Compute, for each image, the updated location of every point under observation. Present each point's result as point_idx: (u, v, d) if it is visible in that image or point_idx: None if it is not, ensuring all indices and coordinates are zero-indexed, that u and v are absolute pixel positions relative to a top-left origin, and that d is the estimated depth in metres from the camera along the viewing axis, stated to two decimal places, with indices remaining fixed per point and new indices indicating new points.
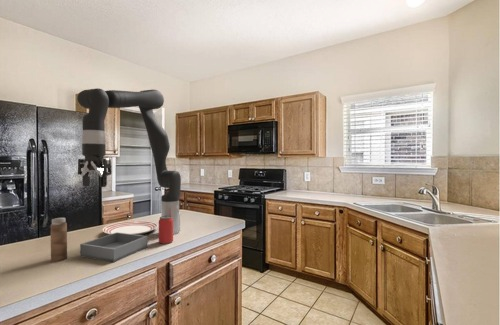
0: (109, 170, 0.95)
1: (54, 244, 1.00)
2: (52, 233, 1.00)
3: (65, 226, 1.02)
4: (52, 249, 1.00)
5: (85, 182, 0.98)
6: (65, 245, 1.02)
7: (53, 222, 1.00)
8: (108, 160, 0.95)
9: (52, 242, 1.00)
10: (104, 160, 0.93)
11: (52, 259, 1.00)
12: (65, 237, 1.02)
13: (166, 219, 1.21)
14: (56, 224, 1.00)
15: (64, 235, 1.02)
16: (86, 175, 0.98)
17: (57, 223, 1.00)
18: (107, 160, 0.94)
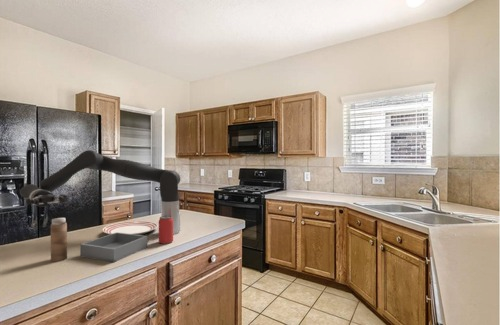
0: None
1: (54, 244, 1.00)
2: (52, 233, 1.00)
3: (65, 226, 1.02)
4: (52, 249, 1.00)
5: (61, 201, 1.13)
6: (65, 245, 1.02)
7: (53, 222, 1.00)
8: None
9: (52, 242, 1.00)
10: None
11: (52, 259, 1.00)
12: (65, 237, 1.02)
13: (166, 219, 1.21)
14: (56, 224, 1.00)
15: (64, 235, 1.02)
16: (59, 199, 1.15)
17: (57, 223, 1.00)
18: None
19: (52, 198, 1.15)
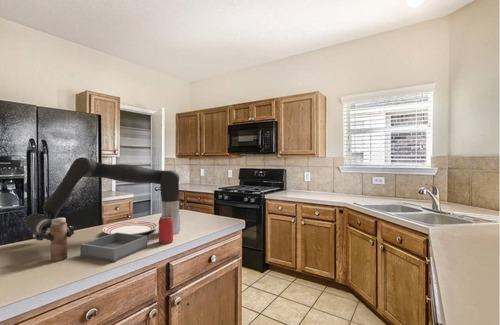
0: None
1: (54, 244, 1.00)
2: (52, 233, 1.00)
3: (65, 226, 1.02)
4: (52, 249, 1.00)
5: (67, 235, 1.04)
6: (65, 245, 1.02)
7: (53, 222, 1.00)
8: (33, 234, 1.02)
9: (52, 242, 1.00)
10: None
11: (52, 259, 1.00)
12: (65, 237, 1.02)
13: (166, 219, 1.21)
14: (56, 224, 1.00)
15: (64, 235, 1.02)
16: None
17: (57, 223, 1.00)
18: (33, 236, 1.02)
19: None
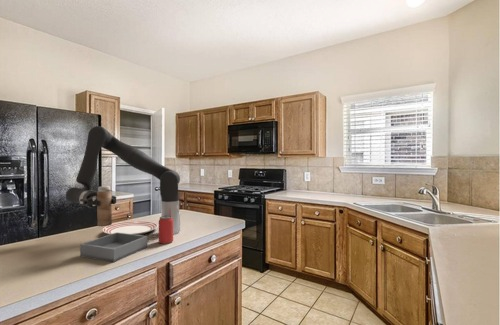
0: (86, 201, 1.07)
1: (101, 209, 1.06)
2: (99, 199, 1.06)
3: (110, 193, 1.09)
4: (99, 214, 1.06)
5: (112, 202, 1.10)
6: (110, 211, 1.09)
7: (100, 189, 1.06)
8: (80, 201, 1.08)
9: (99, 208, 1.06)
10: (81, 205, 1.08)
11: (99, 224, 1.06)
12: (110, 204, 1.09)
13: (166, 219, 1.21)
14: (103, 191, 1.06)
15: (110, 202, 1.08)
16: None
17: (103, 190, 1.07)
18: (80, 202, 1.08)
19: None
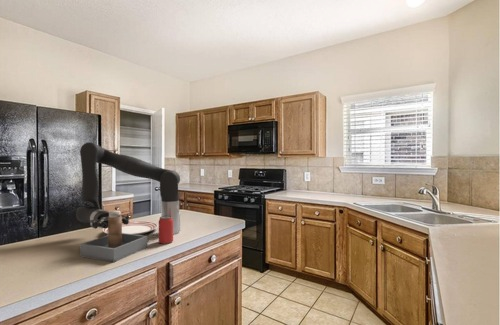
0: None
1: (112, 235, 1.08)
2: (110, 225, 1.08)
3: (120, 219, 1.10)
4: (110, 240, 1.08)
5: (125, 223, 1.13)
6: (121, 236, 1.11)
7: (111, 215, 1.08)
8: (90, 222, 1.10)
9: (110, 233, 1.08)
10: None
11: None
12: (121, 229, 1.11)
13: (166, 219, 1.21)
14: (113, 217, 1.08)
15: (120, 227, 1.10)
16: (122, 220, 1.15)
17: (114, 216, 1.08)
18: None
19: None
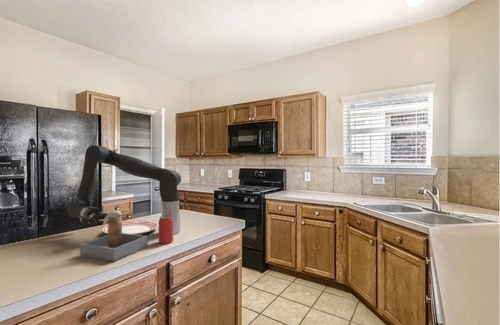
0: None
1: (112, 235, 1.08)
2: (110, 225, 1.08)
3: (121, 218, 1.11)
4: (110, 239, 1.08)
5: None
6: (121, 236, 1.11)
7: (111, 215, 1.08)
8: (80, 218, 1.19)
9: (110, 233, 1.08)
10: (81, 221, 1.19)
11: None
12: (121, 229, 1.11)
13: (166, 219, 1.21)
14: (114, 216, 1.08)
15: (120, 227, 1.10)
16: None
17: (114, 216, 1.09)
18: (80, 219, 1.19)
19: (103, 216, 1.23)
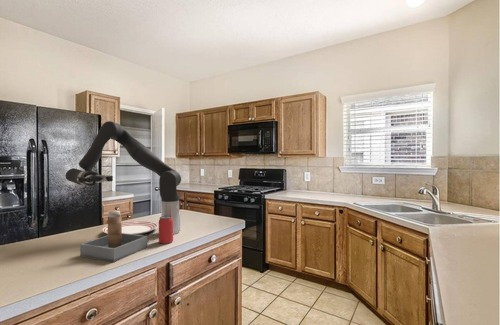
0: None
1: (112, 235, 1.08)
2: (110, 225, 1.08)
3: (120, 218, 1.11)
4: (110, 239, 1.08)
5: (108, 180, 1.24)
6: (121, 236, 1.11)
7: (110, 215, 1.08)
8: (77, 179, 1.21)
9: (110, 233, 1.08)
10: (78, 182, 1.22)
11: None
12: (120, 228, 1.11)
13: (166, 219, 1.21)
14: (113, 216, 1.08)
15: (120, 226, 1.10)
16: (106, 178, 1.26)
17: (114, 215, 1.09)
18: (77, 179, 1.21)
19: (100, 178, 1.26)
